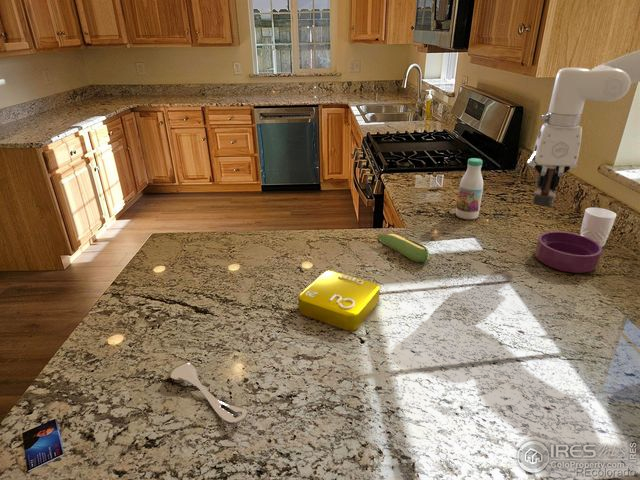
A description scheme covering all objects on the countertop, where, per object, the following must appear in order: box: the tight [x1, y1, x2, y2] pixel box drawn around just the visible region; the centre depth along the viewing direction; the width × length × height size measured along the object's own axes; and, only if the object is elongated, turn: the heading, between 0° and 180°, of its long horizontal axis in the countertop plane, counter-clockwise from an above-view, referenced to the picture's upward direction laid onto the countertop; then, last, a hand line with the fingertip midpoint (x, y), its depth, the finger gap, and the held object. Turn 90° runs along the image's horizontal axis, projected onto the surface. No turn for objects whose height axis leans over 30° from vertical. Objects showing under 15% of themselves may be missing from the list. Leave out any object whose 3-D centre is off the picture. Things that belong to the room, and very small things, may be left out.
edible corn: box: [376, 232, 431, 263], centre depth 123 cm, size 5×20×5 cm, turn 35°
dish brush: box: [532, 166, 557, 208], centre depth 116 cm, size 5×5×10 cm
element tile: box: [298, 270, 381, 332], centre depth 99 cm, size 15×15×5 cm
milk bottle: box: [455, 157, 484, 220], centre depth 144 cm, size 8×8×20 cm
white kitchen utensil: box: [168, 361, 248, 424], centre depth 74 cm, size 20×4×5 cm
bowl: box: [534, 230, 603, 274], centre depth 118 cm, size 15×15×6 cm
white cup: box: [579, 207, 617, 248], centre depth 127 cm, size 8×8×10 cm
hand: (546, 188), depth 116 cm, fingers closed on dish brush
